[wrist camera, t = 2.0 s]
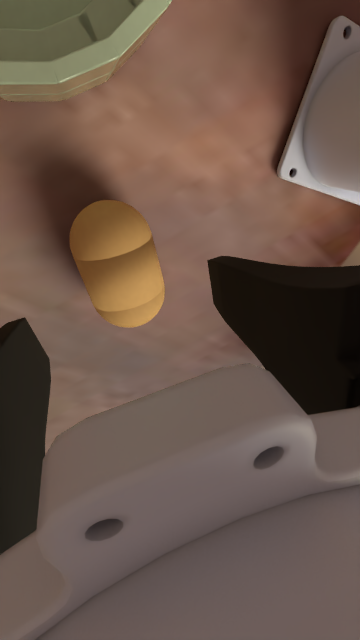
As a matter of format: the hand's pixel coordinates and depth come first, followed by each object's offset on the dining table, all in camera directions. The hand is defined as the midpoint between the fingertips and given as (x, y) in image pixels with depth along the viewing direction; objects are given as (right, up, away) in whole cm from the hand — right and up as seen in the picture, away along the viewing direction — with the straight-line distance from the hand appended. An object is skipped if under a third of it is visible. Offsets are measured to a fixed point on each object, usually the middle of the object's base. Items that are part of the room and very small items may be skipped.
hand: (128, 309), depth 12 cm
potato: (-2, +4, +7) cm, 8 cm away
